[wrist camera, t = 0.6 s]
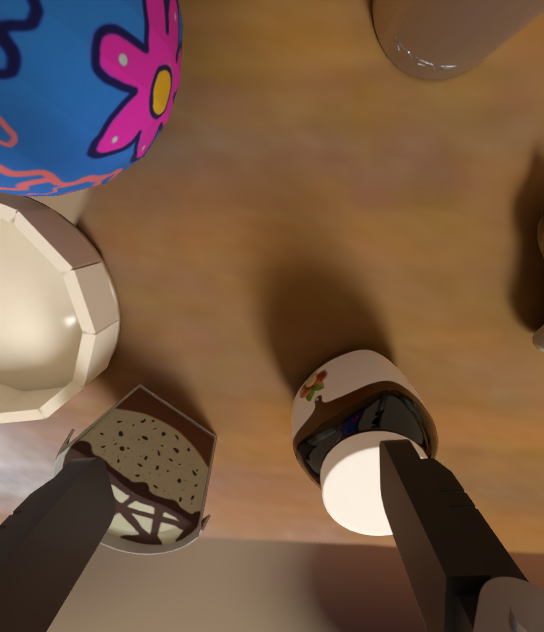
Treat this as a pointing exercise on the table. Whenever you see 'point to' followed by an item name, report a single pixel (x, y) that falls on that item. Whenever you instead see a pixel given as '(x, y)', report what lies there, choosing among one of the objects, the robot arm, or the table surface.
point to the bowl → (50, 310)
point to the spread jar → (356, 433)
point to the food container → (149, 472)
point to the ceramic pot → (83, 89)
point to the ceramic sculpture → (540, 339)
